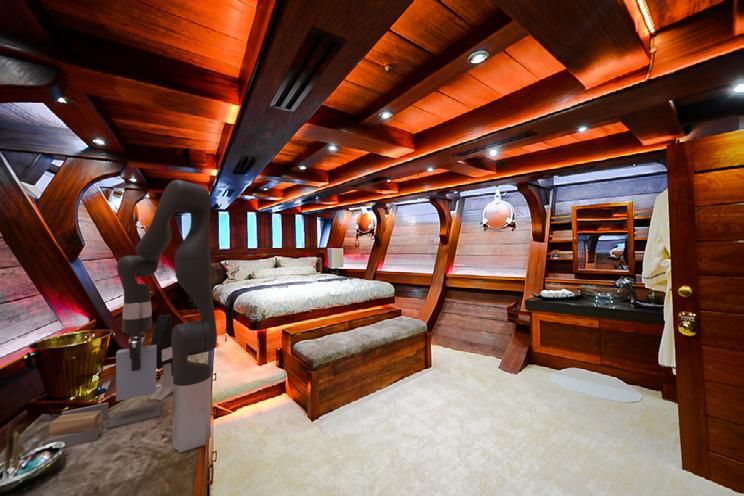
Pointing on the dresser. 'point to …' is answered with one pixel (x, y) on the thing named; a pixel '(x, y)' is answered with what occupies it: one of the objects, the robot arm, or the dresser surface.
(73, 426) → the offcut upper
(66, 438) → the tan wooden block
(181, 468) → the dresser surface
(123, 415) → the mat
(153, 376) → the sheet
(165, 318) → the award
